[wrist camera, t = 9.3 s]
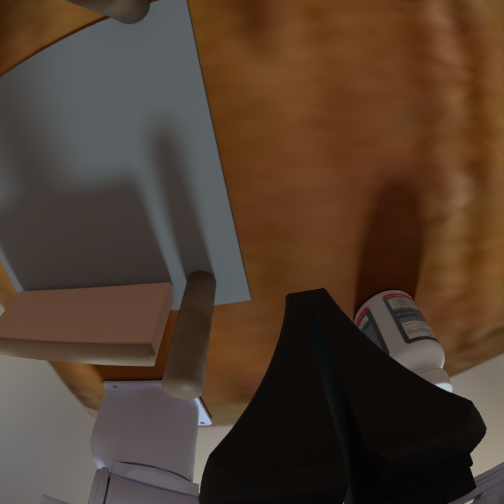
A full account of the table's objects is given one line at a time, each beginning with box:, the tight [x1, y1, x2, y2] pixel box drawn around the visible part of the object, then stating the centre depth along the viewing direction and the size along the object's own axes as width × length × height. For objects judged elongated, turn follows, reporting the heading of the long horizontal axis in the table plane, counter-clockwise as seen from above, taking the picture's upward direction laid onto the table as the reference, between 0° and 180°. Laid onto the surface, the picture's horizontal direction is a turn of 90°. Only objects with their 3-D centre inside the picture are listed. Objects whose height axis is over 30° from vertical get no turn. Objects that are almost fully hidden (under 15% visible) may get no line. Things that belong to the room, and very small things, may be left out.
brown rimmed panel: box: [0, 282, 174, 366], centre depth 18 cm, size 14×1×7 cm, turn 96°
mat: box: [0, 0, 251, 311], centre depth 18 cm, size 20×20×1 cm
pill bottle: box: [354, 290, 452, 392], centre depth 20 cm, size 5×5×9 cm
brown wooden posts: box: [65, 0, 217, 400], centre depth 13 cm, size 2×20×9 cm, turn 10°
